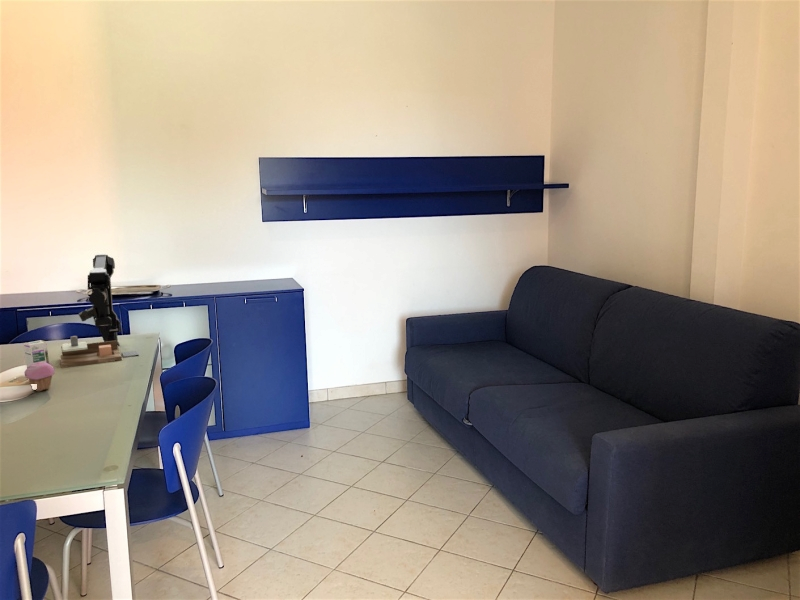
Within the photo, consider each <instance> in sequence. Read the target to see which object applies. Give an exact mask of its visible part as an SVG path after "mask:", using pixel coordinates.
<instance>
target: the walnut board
mask: <svg viewBox="0 0 800 600" xmlns="http://www.w3.org/2000/svg"><path fill="white" fill-rule="evenodd" d="M102 345H111V350H112V355H109V356H100V354H99V346H102ZM87 348H88V349H84V350H76V351H67V352H62V351H61V355H60V367H61V368H62V369H63V368H68V367H77V366H85V365H94V364H100V363H109V362H108V361H110V362H116V361H115V360H118V361H123V359H122V358H123V355H121V354H122V353H121V351H120V349H119V348H118V346H117V340H115V341H106V342H104V341H99V342H89V343H87ZM61 349H62V345H61ZM113 354H114V355H113Z"/></svg>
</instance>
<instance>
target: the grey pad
mask: <svg viewBox="0 0 800 600" xmlns="http://www.w3.org/2000/svg"><path fill="white" fill-rule="evenodd" d="M121 354H123V355H122V358H129V357H128V356H132V357H136V356H135V355H139V356H140V353H139V352H138V350H130V351H121Z"/></svg>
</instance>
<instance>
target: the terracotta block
mask: <svg viewBox="0 0 800 600" xmlns="http://www.w3.org/2000/svg"><path fill="white" fill-rule="evenodd" d="M99 354H100V356H109V355H112V350H111V345H102V346H99Z"/></svg>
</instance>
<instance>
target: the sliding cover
mask: <svg viewBox="0 0 800 600" xmlns="http://www.w3.org/2000/svg"><path fill="white" fill-rule="evenodd" d="M87 344H88V343H87V341H79V338H78V335H72V336H71V335H70V342H69V343H67V342H66V343H61V346H62V348H61V353H62V352H67V351H76V350H84V349H88V348H87Z"/></svg>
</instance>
